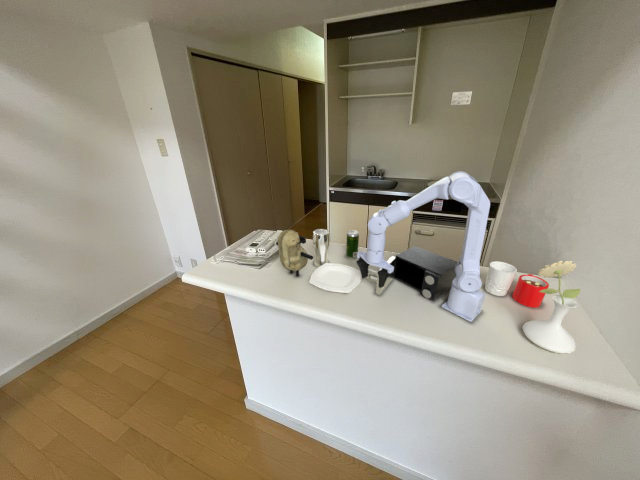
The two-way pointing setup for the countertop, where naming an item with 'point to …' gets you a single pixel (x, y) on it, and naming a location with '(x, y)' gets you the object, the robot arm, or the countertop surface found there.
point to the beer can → (352, 244)
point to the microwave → (425, 271)
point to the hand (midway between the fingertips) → (372, 281)
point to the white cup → (499, 278)
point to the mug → (529, 290)
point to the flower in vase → (554, 314)
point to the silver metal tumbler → (320, 246)
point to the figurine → (292, 251)
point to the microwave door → (369, 272)
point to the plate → (336, 277)
